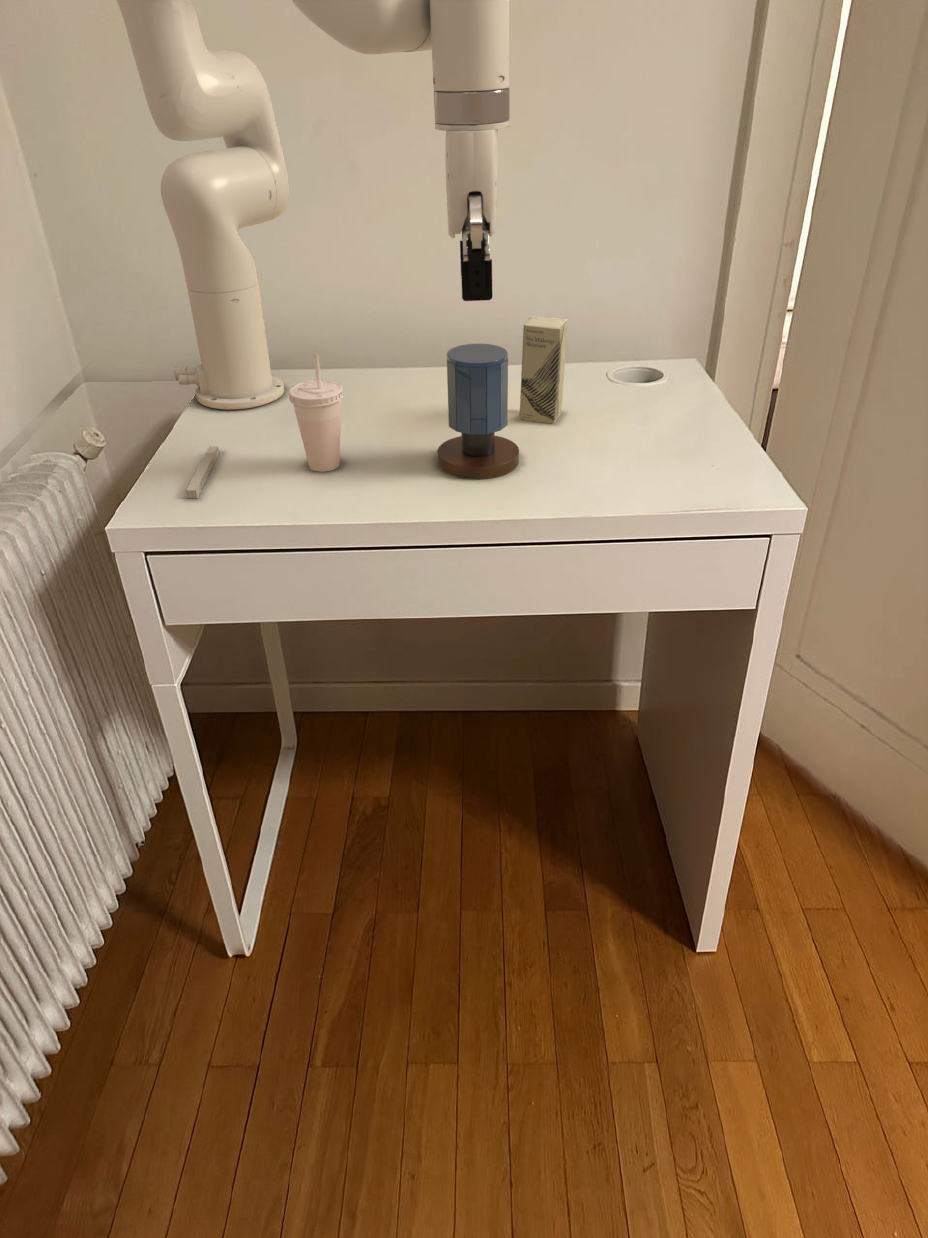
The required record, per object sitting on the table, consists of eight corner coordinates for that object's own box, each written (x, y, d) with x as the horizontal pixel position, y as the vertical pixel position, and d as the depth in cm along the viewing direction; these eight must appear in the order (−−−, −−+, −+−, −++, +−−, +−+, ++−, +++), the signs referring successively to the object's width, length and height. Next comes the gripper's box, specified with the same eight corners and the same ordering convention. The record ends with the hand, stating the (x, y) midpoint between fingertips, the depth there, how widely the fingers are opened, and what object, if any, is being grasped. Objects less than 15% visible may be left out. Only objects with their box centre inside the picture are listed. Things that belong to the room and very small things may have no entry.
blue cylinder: (448, 435, 105) (446, 363, 101) (448, 412, 111) (446, 344, 106) (508, 433, 105) (509, 362, 101) (505, 411, 111) (506, 342, 106)
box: (518, 420, 122) (520, 324, 114) (527, 408, 125) (529, 314, 118) (556, 424, 120) (560, 327, 113) (564, 412, 124) (569, 317, 116)
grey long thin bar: (197, 498, 104) (195, 490, 104) (187, 498, 104) (186, 490, 104) (219, 453, 114) (217, 446, 114) (210, 453, 114) (209, 446, 114)
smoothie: (341, 478, 108) (328, 362, 100) (290, 474, 109) (274, 360, 101) (356, 455, 113) (346, 344, 105) (308, 452, 114) (294, 342, 106)
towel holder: (437, 480, 107) (433, 373, 100) (438, 445, 115) (434, 344, 108) (521, 478, 107) (523, 370, 100) (516, 444, 115) (517, 342, 108)
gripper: (435, 104, 97) (442, 270, 107) (433, 120, 83) (441, 310, 92) (505, 102, 97) (505, 268, 107) (514, 117, 83) (514, 308, 92)
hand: (476, 288), depth 99 cm, fingers open, 9 cm apart
